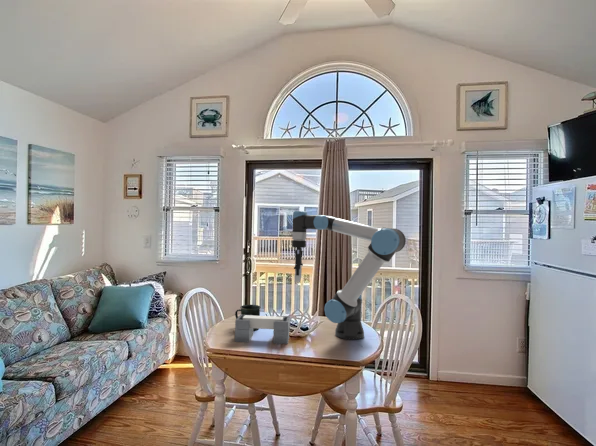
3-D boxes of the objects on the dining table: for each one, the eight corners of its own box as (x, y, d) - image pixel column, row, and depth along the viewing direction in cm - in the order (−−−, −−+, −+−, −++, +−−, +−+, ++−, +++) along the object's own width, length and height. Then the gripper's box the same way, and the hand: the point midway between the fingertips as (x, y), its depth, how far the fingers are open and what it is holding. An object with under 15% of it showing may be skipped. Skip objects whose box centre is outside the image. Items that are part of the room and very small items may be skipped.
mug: (255, 332, 187) (256, 309, 187) (230, 329, 191) (231, 307, 191) (263, 326, 197) (263, 305, 197) (239, 324, 201) (239, 303, 201)
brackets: (289, 336, 181) (289, 316, 181) (287, 343, 170) (288, 322, 170) (239, 334, 183) (240, 314, 183) (234, 341, 172) (235, 320, 172)
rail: (283, 326, 178) (283, 316, 178) (282, 329, 173) (282, 319, 173) (244, 324, 179) (244, 315, 179) (242, 327, 174) (242, 317, 174)
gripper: (293, 238, 200) (292, 275, 200) (290, 240, 175) (289, 283, 175) (306, 239, 200) (306, 276, 200) (305, 241, 175) (304, 283, 175)
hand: (298, 279), depth 187 cm, fingers open, 13 cm apart
